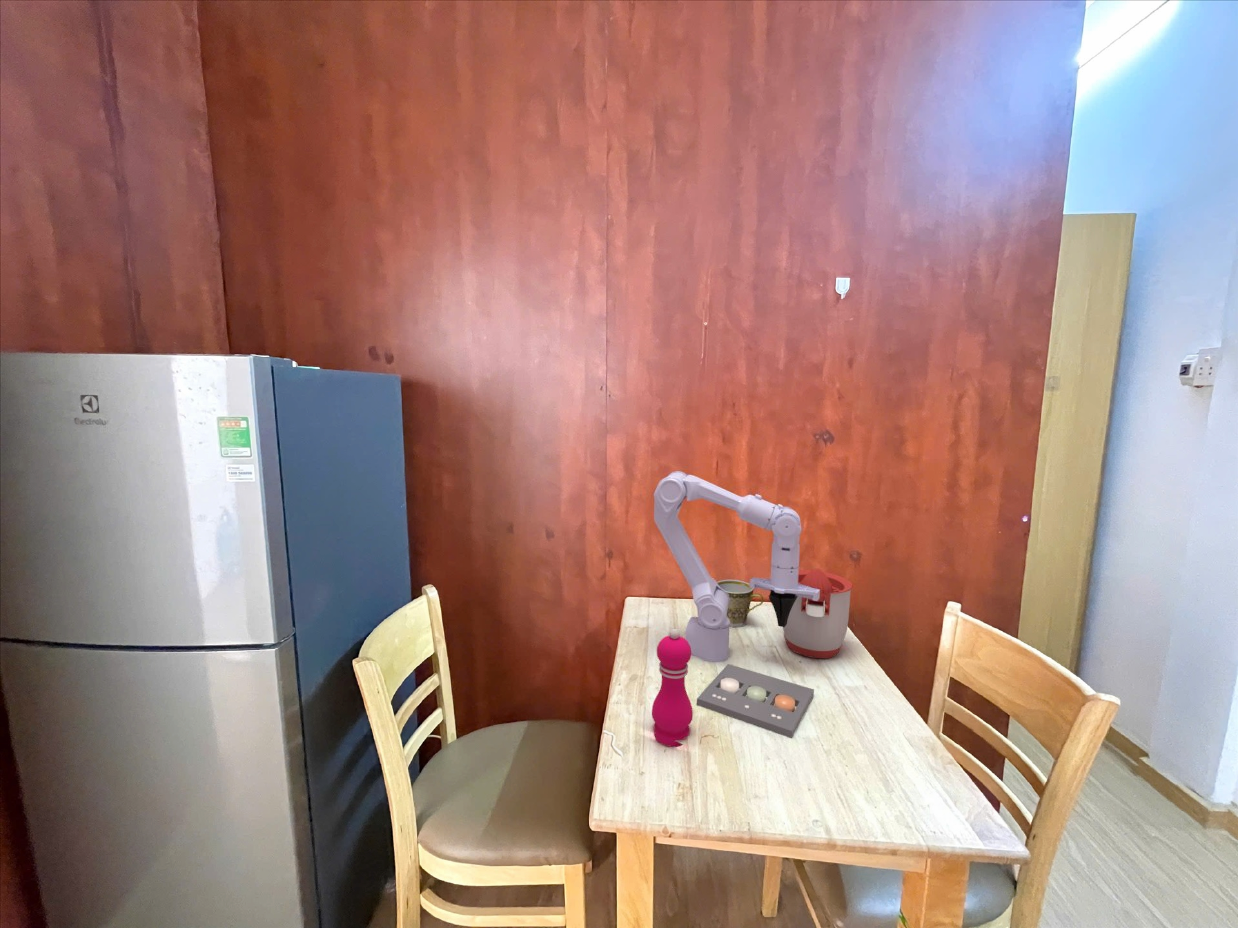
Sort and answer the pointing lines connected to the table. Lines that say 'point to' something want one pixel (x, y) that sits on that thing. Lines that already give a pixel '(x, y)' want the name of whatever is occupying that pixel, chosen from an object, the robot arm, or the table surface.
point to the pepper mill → (672, 691)
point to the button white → (730, 685)
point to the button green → (756, 693)
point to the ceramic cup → (738, 600)
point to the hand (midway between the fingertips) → (782, 624)
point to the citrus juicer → (819, 615)
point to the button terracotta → (785, 702)
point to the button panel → (753, 709)
